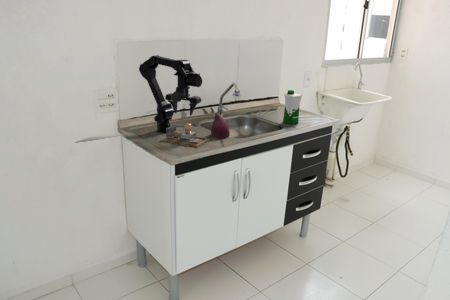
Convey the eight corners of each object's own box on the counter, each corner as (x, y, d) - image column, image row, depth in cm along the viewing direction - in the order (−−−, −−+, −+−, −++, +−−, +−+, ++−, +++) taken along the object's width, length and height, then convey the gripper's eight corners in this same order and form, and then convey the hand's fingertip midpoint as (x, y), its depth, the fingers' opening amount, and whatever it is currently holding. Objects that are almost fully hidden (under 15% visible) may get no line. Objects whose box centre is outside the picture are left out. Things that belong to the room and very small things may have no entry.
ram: (179, 139, 186) (179, 124, 184) (185, 136, 192) (185, 121, 189) (190, 141, 184) (190, 126, 181) (196, 138, 189) (196, 123, 186)
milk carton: (289, 120, 237) (292, 89, 231) (300, 123, 231) (304, 91, 224) (280, 122, 232) (283, 90, 225) (291, 125, 225) (294, 93, 219)
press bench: (163, 141, 187) (163, 129, 185) (176, 135, 198) (175, 124, 195) (198, 147, 180) (198, 135, 178) (208, 141, 190) (209, 129, 188)
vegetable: (214, 144, 196) (209, 119, 188) (209, 136, 204) (204, 112, 197) (232, 138, 197) (228, 114, 190) (227, 131, 206) (222, 107, 198)
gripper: (158, 85, 184) (159, 115, 189) (191, 89, 177) (191, 120, 182) (170, 82, 194) (171, 111, 199) (201, 85, 187) (201, 115, 192)
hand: (183, 114), depth 193 cm, fingers open, 9 cm apart
